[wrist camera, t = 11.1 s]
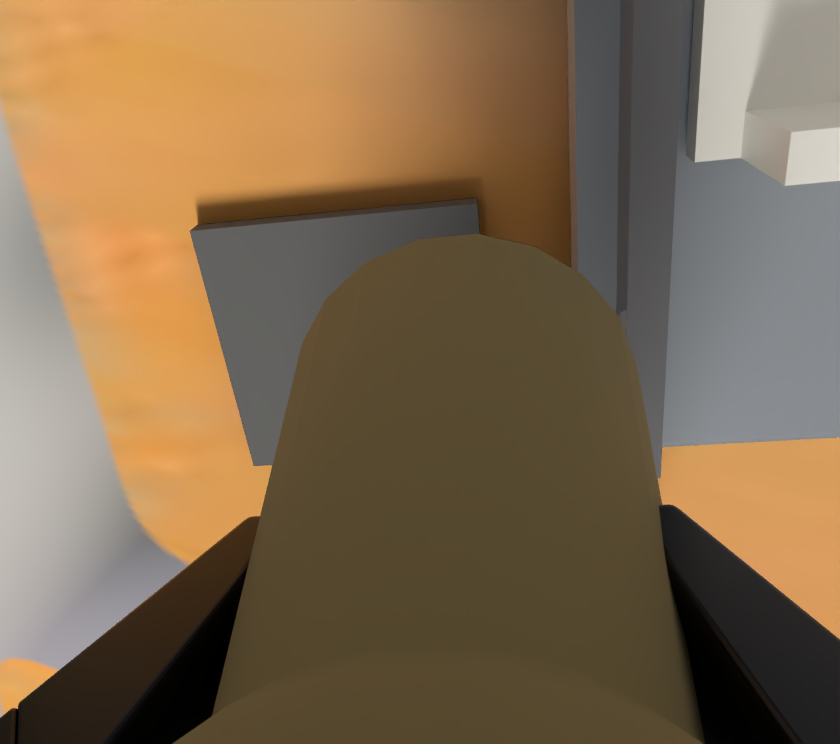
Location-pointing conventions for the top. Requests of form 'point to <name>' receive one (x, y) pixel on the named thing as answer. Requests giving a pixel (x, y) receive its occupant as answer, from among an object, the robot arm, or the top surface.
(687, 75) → the grey slide rail tray
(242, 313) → the rubber pad
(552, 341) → the cork
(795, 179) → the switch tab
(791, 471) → the top surface
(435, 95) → the top surface
